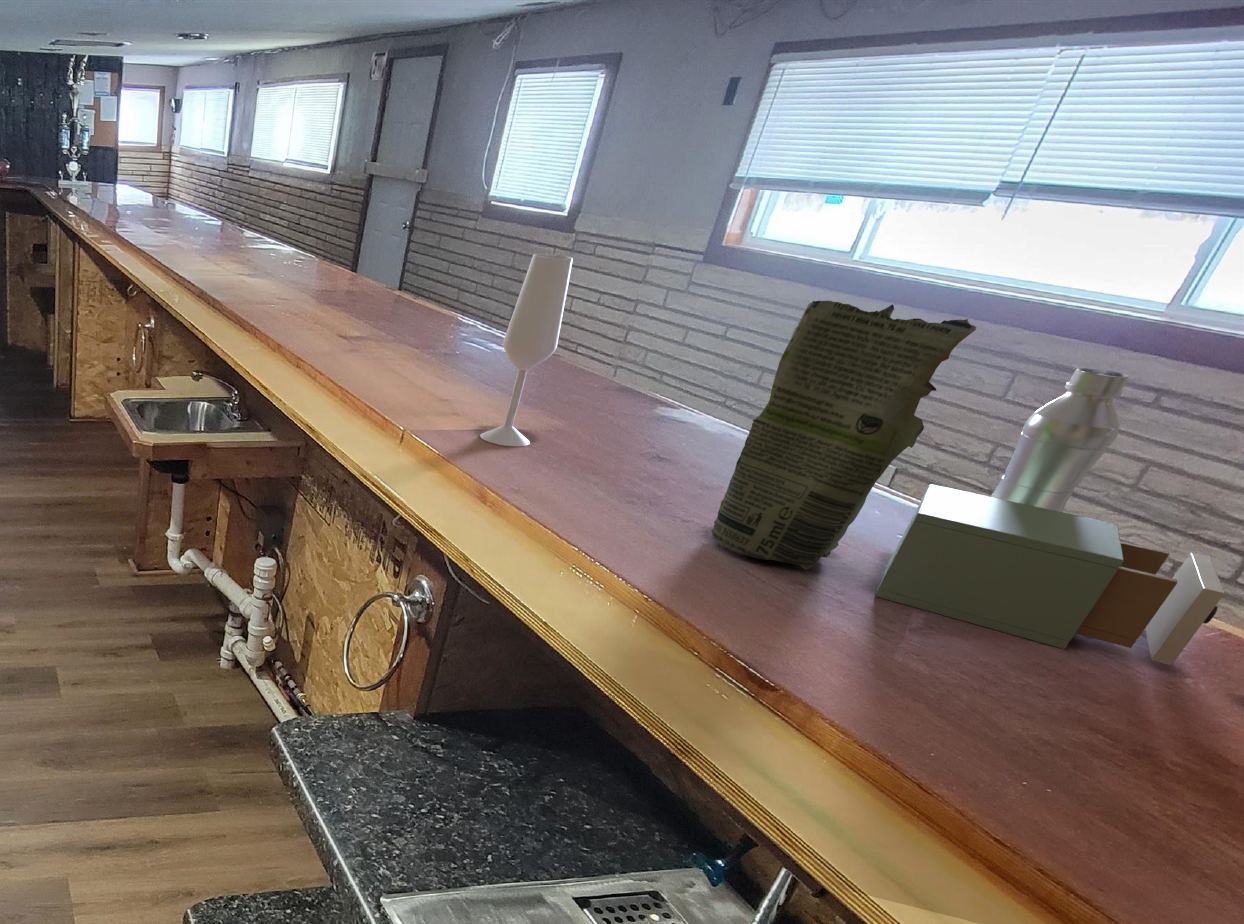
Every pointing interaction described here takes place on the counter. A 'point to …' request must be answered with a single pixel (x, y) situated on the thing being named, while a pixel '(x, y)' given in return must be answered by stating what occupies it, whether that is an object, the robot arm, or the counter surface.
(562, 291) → the champagne flute
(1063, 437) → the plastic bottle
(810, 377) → the pouch
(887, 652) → the counter surface
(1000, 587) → the cabinet
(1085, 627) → the drawer
